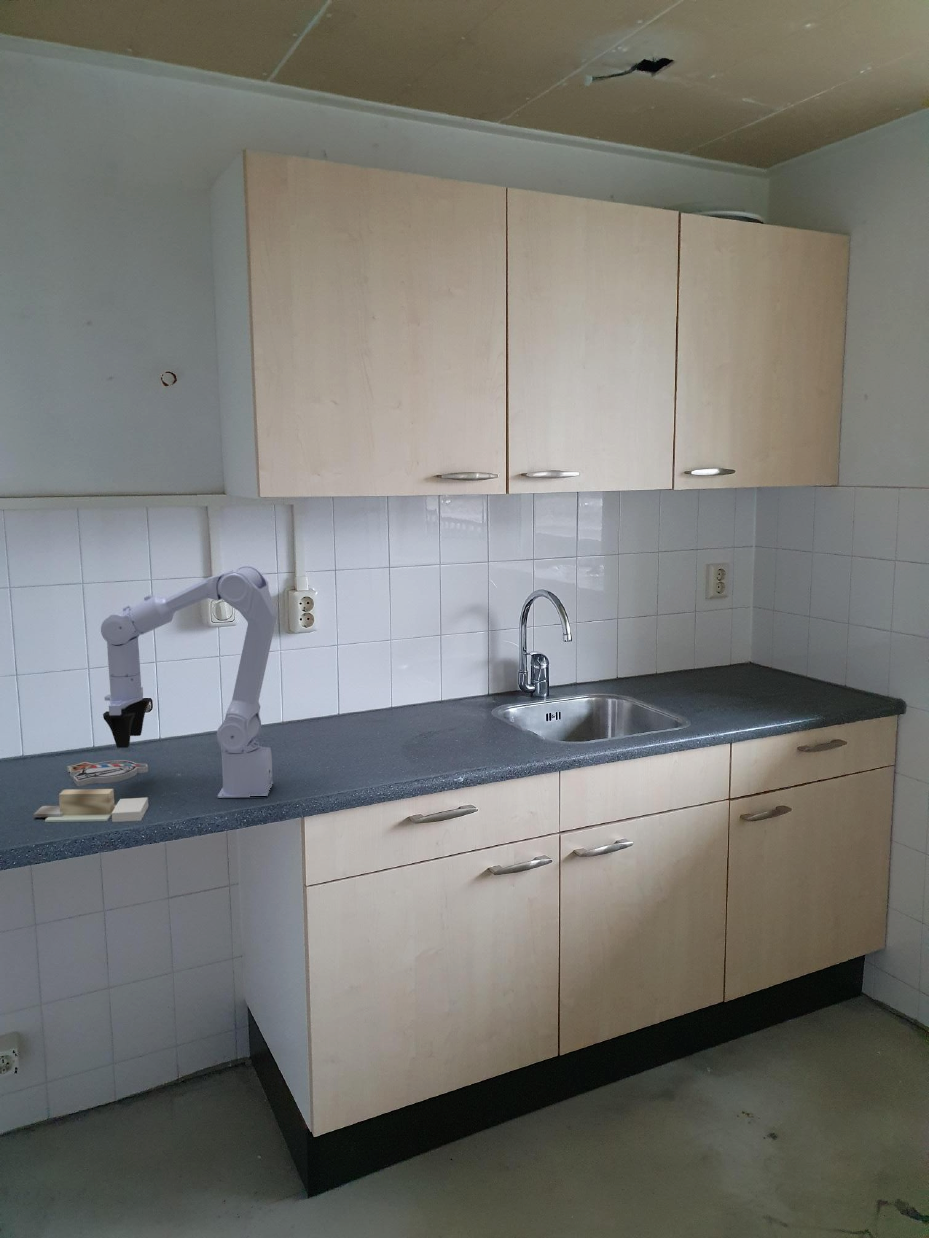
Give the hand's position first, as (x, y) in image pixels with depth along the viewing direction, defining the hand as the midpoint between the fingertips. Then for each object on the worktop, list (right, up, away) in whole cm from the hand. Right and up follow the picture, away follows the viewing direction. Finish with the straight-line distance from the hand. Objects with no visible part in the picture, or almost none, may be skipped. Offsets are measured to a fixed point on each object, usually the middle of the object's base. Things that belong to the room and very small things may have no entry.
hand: (129, 741), depth 183 cm
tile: (+4, -11, -8) cm, 14 cm away
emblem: (-8, -9, +11) cm, 17 cm away
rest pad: (-5, -12, -11) cm, 17 cm away
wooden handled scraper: (-6, -12, -11) cm, 17 cm away
